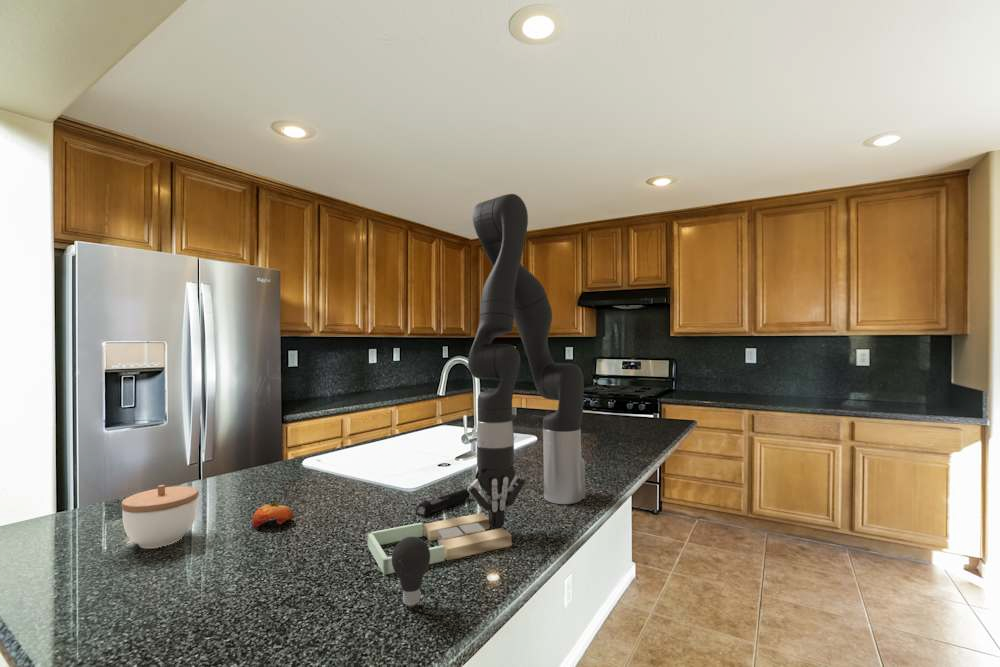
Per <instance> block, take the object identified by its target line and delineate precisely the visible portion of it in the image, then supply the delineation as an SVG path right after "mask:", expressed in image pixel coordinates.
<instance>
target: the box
mask: <svg viewBox="0 0 1000 667" xmlns="http://www.w3.org/2000/svg"><path fill="white" fill-rule="evenodd" d="M423 524H424V523H423V522H417V523H411V524H406V525H401V526H396V527H391V528H385V529H380V530H375V531H370V532H366V538H367V539H366V540H367V541H366V544H367V545H366V546H367V548H368V550H369V551H370V553H371V555H372V556H373V558H374V560H375V562H376V563H377V565H378V567H379V569H380V570H381V572H382V574H383V576H385V575H390V574H393V573H395V571H394V568H393V566H392V555H391V556H387V554H386V552H385V551H384V550H383V548H382V545H387V544H391V543H392V544H393V543H397V542H400V541H401V540H403V539H404V538H407V537H418V538H420V537H423V536H424V527H423ZM428 548H429V551H430V562H429V565H432V564H433V565H434V564H435V563H441V562H444V561H445V559H446V558H445V557H444V546H443V545H436V546H433V547H428Z"/></svg>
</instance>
